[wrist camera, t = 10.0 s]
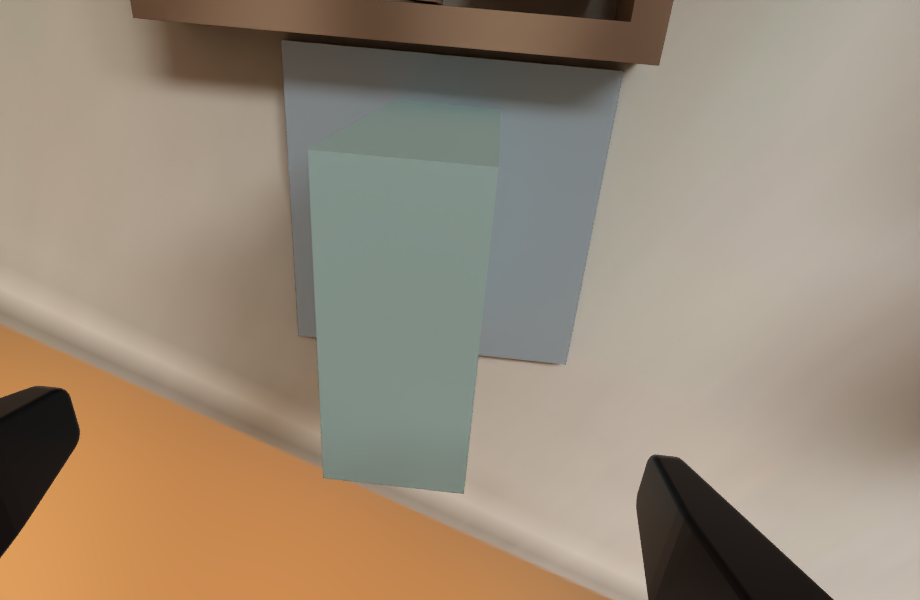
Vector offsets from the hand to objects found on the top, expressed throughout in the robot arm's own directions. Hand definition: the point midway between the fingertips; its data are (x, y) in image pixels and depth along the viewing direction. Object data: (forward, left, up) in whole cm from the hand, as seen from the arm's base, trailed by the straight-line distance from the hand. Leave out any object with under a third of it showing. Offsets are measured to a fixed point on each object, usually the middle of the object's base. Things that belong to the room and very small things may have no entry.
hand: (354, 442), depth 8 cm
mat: (0, 0, -13) cm, 13 cm away
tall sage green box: (0, 0, -12) cm, 13 cm away
